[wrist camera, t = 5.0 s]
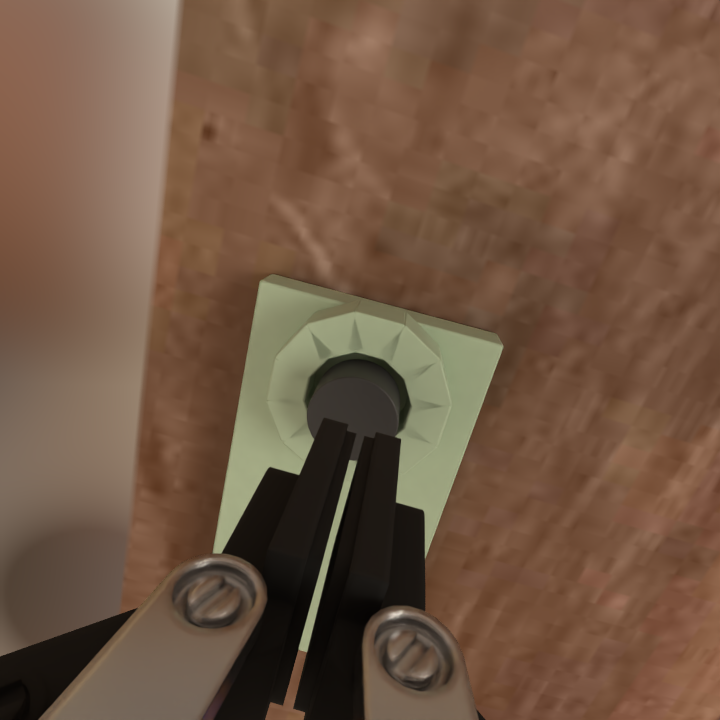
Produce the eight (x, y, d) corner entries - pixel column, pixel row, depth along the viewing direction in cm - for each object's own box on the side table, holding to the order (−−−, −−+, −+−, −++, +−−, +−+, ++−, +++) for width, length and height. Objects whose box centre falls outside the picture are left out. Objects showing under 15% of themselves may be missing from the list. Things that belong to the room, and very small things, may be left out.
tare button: (326, 349, 15) (317, 366, 13) (410, 371, 15) (409, 391, 13) (309, 423, 16) (298, 447, 14) (388, 445, 16) (385, 471, 14)
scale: (272, 265, 17) (243, 281, 14) (500, 326, 17) (517, 354, 14) (212, 596, 22) (182, 656, 19) (385, 645, 22) (380, 712, 19)
